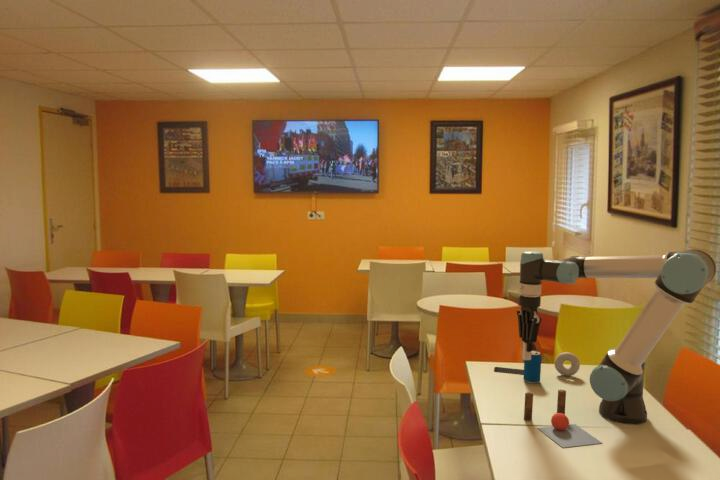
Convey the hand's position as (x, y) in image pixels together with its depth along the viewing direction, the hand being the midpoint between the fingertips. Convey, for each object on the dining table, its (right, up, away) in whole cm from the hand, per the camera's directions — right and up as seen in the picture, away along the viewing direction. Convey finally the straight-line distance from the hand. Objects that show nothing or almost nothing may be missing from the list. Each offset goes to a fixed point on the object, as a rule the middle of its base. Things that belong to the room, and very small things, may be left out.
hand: (526, 359), depth 207 cm
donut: (+26, -14, +32) cm, 44 cm away
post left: (-3, -18, -12) cm, 22 cm away
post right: (+9, -18, -9) cm, 22 cm away
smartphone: (+4, -13, +37) cm, 39 cm away
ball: (+5, -16, -20) cm, 26 cm away
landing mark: (+6, -19, -24) cm, 32 cm away
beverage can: (+9, -14, +25) cm, 30 cm away
